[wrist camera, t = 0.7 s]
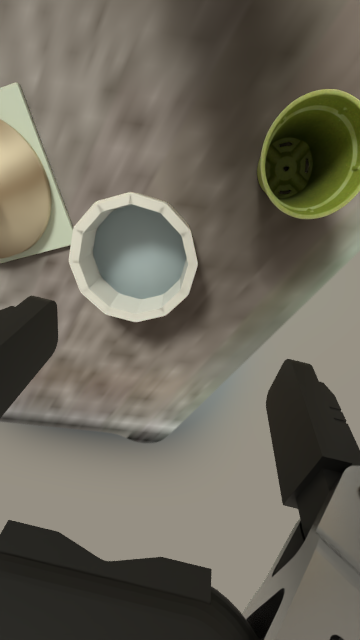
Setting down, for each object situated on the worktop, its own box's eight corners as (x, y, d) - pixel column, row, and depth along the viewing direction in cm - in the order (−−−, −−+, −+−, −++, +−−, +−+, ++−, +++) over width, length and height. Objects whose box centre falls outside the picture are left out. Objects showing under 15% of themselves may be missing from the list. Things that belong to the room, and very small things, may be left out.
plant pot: (244, 220, 34) (263, 227, 26) (238, 127, 30) (258, 100, 22) (324, 207, 33) (370, 210, 25) (328, 110, 30) (383, 77, 22)
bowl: (71, 211, 33) (49, 214, 28) (179, 182, 32) (179, 178, 27) (108, 312, 38) (96, 331, 33) (203, 290, 37) (207, 306, 32)
